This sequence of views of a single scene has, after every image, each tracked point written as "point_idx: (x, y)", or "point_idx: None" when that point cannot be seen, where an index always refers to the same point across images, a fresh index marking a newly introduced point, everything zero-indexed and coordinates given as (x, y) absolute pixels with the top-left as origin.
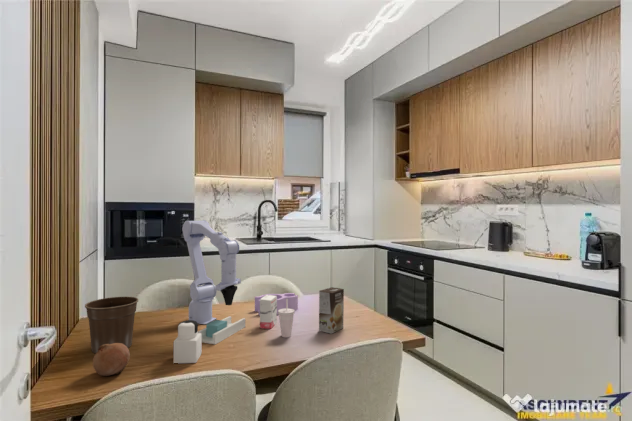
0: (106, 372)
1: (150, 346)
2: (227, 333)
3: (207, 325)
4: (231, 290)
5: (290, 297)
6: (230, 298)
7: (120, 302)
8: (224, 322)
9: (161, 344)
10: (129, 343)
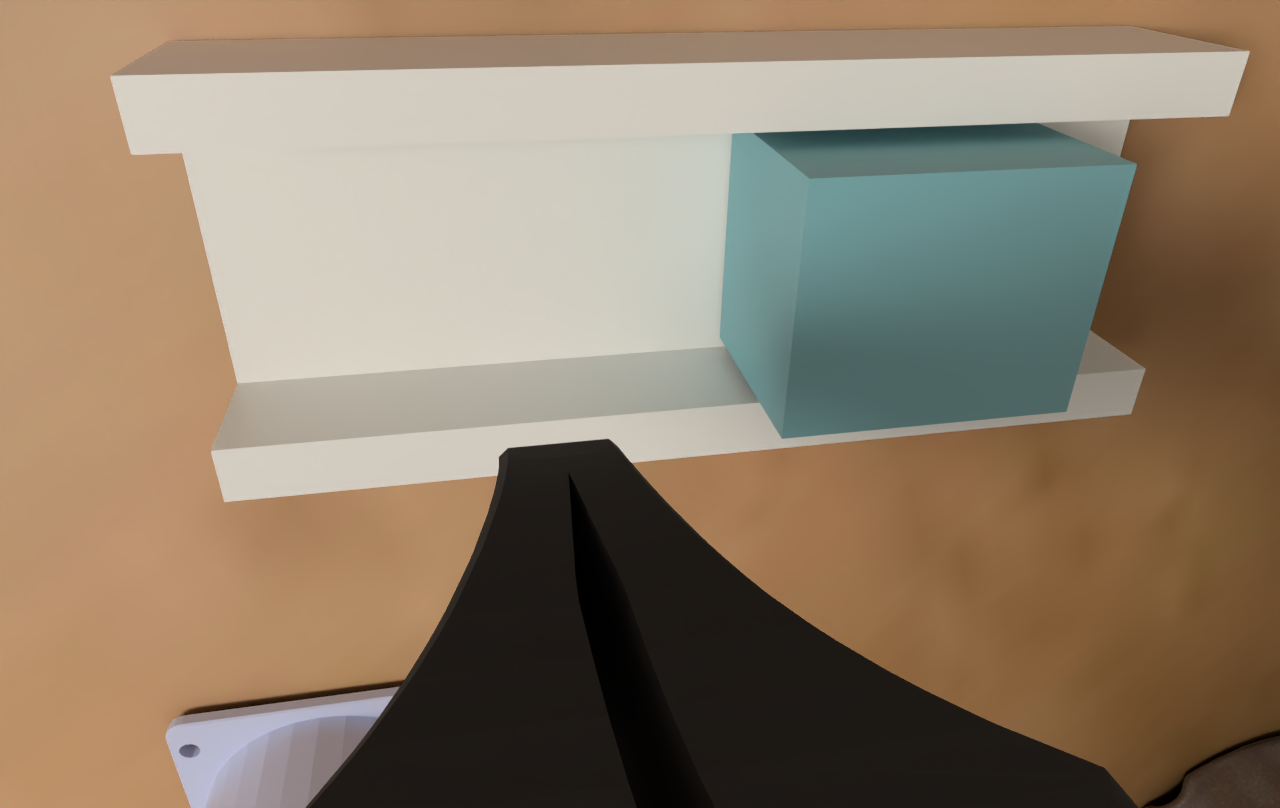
0: None
1: (1206, 641)
2: (842, 40)
3: (1062, 382)
4: (1064, 796)
5: None
6: (716, 552)
7: None
8: (903, 176)
9: (1155, 603)
10: (1272, 771)
